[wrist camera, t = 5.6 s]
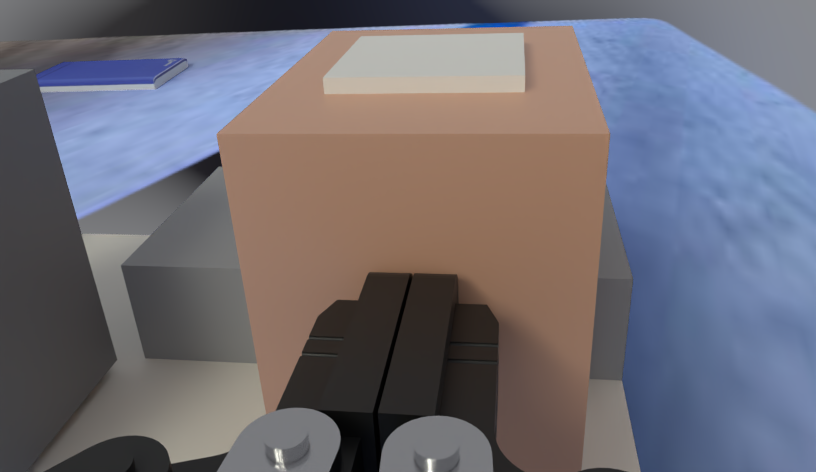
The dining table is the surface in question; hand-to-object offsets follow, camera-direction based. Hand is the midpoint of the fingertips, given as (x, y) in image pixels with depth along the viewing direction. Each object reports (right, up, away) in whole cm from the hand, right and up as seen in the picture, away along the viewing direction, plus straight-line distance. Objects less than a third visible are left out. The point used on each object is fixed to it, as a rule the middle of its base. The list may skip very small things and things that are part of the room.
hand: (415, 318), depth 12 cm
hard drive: (-28, +15, +55) cm, 64 cm away
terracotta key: (+1, -2, +6) cm, 6 cm away
